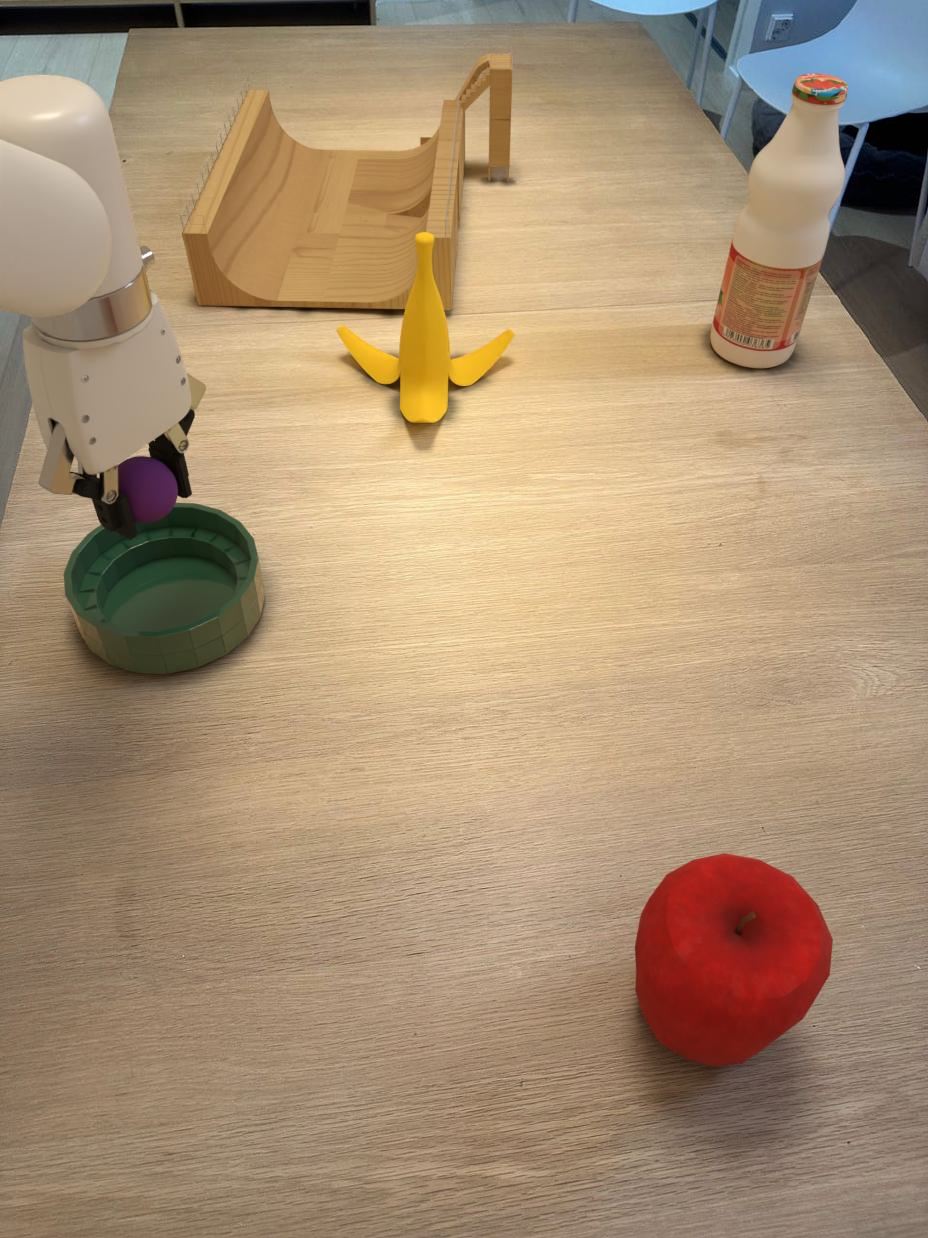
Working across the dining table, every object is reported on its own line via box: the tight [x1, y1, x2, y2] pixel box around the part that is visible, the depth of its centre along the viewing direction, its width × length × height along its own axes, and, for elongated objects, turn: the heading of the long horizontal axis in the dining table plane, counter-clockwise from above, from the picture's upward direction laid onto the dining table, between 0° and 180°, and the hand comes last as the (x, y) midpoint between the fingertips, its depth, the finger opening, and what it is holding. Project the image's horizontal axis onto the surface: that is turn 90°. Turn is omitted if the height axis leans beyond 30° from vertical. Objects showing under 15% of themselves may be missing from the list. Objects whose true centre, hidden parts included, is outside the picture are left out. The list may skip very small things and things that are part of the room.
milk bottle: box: [710, 72, 849, 369], centre depth 104 cm, size 9×9×28 cm
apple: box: [634, 852, 834, 1068], centre depth 59 cm, size 11×10×14 cm
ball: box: [118, 455, 179, 523], centre depth 76 cm, size 5×5×5 cm
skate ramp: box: [179, 38, 514, 311], centre depth 125 cm, size 40×35×16 cm
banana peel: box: [336, 232, 516, 424], centre depth 100 cm, size 17×19×17 cm
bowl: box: [63, 502, 266, 675], centre depth 84 cm, size 15×15×5 cm
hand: (147, 508), depth 78 cm, fingers closed on ball, 4 cm apart
